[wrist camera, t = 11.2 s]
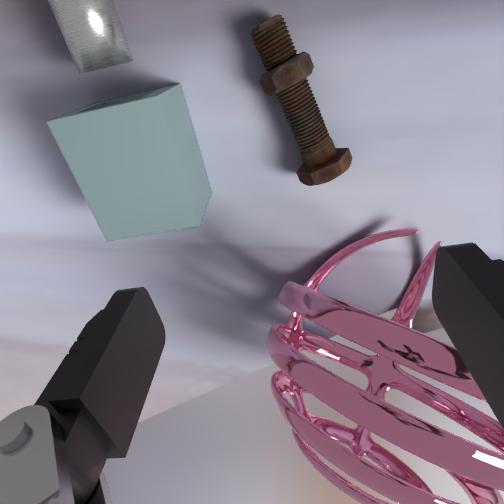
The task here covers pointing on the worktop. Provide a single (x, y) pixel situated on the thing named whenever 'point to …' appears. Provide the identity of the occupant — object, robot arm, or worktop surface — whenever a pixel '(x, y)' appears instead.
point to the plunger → (92, 33)
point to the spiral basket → (380, 393)
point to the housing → (136, 162)
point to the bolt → (298, 102)
